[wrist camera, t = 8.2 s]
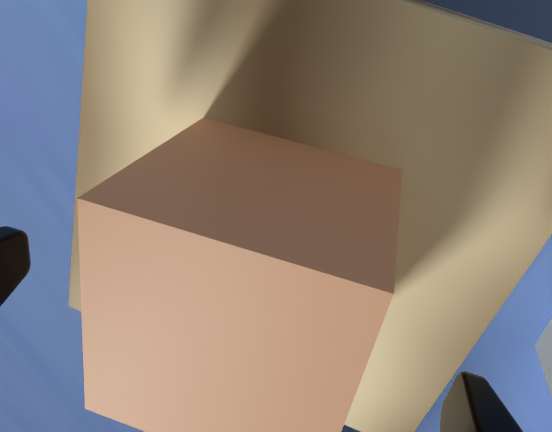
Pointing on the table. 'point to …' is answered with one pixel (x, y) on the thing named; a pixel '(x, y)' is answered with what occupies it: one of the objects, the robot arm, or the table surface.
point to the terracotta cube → (235, 283)
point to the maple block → (353, 144)
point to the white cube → (546, 353)
